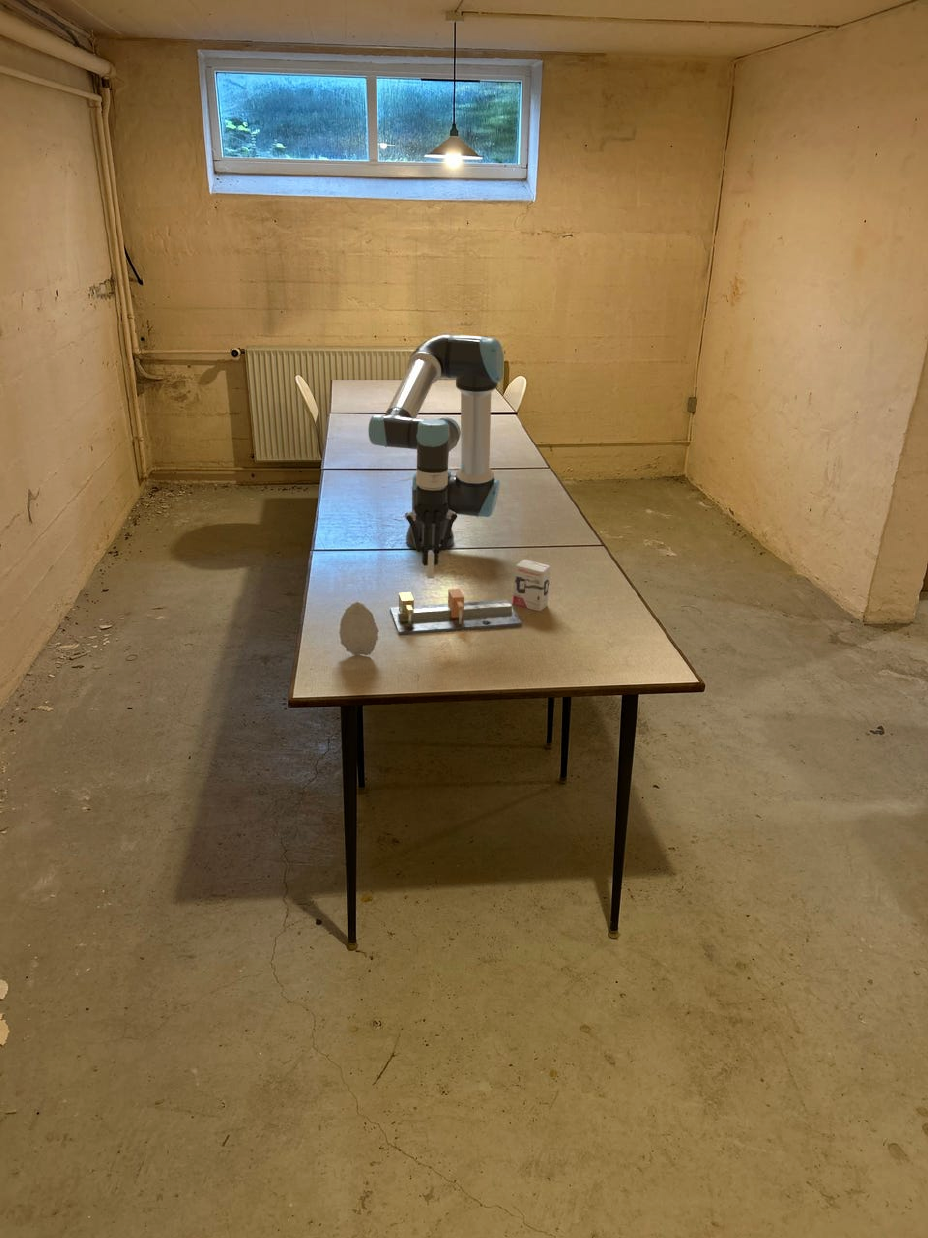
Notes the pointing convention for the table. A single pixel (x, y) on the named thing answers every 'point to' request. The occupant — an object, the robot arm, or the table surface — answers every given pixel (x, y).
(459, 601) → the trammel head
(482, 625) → the hole plate
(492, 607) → the rail
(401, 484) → the table surface
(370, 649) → the stone tool
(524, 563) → the ink box
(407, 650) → the table surface
